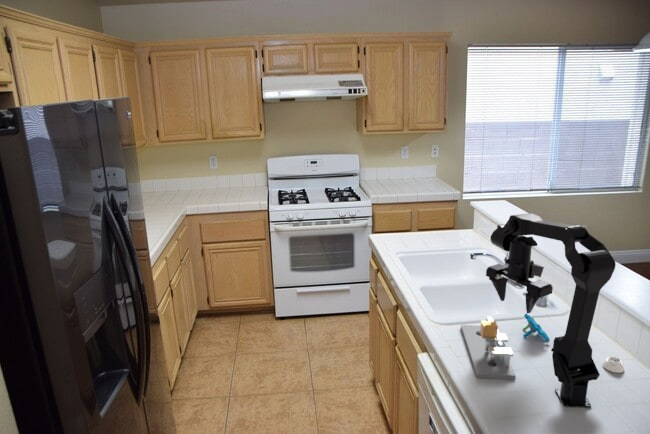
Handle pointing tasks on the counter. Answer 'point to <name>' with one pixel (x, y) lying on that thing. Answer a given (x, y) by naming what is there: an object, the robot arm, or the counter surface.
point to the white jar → (613, 364)
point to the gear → (534, 328)
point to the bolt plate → (484, 355)
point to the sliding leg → (491, 333)
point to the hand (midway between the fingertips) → (515, 306)
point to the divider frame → (500, 351)
